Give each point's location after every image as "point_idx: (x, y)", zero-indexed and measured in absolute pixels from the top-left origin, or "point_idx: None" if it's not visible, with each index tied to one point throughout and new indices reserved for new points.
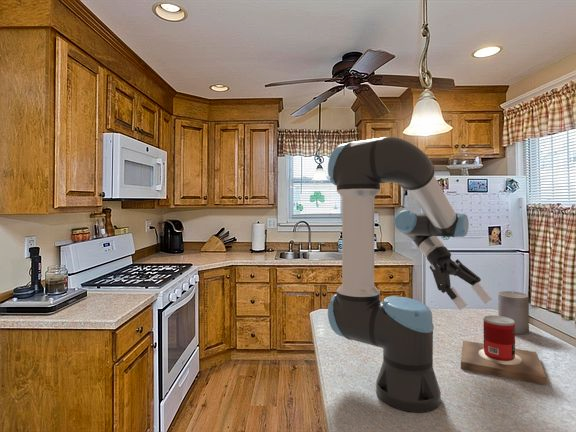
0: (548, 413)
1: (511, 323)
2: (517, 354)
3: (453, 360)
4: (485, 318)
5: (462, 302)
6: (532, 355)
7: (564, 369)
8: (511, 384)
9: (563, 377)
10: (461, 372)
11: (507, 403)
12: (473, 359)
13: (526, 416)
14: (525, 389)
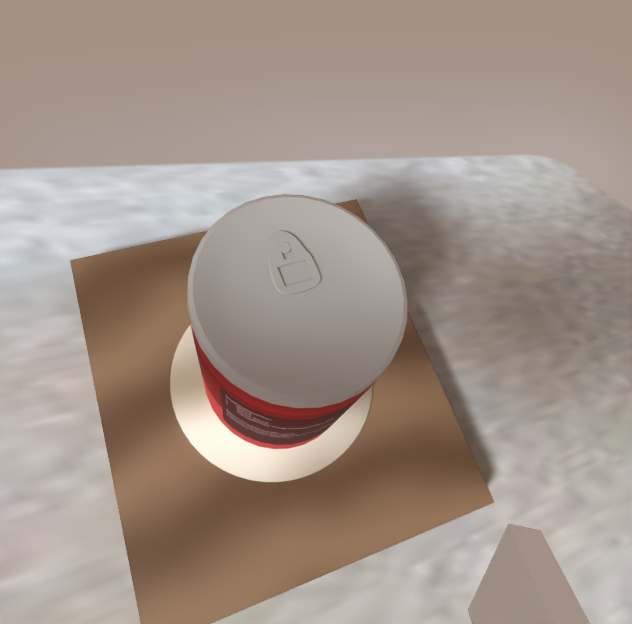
0: (535, 195)
1: (336, 205)
2: (175, 319)
3: (417, 578)
4: (354, 378)
5: (560, 581)
6: (138, 265)
7: (141, 183)
8: (444, 301)
9: (232, 182)
10: (512, 483)
11: (583, 283)
12: (416, 462)
13: (602, 233)
14: (442, 260)
